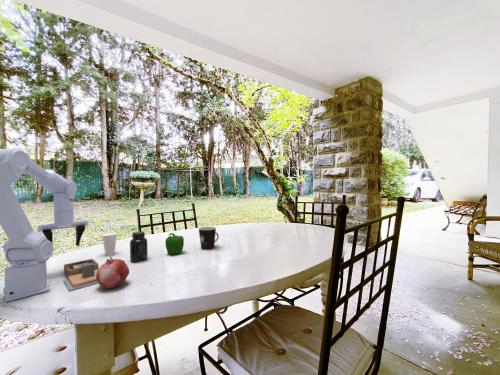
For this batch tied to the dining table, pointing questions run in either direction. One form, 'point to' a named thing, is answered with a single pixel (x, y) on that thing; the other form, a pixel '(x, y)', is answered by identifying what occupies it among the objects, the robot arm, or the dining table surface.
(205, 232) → the coffee mug
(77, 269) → the box
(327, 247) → the dining table surface
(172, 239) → the bell pepper
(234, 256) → the dining table surface
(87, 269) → the lid
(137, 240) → the supplement bottle
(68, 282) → the mat
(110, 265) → the fruit
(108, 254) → the smoothie
